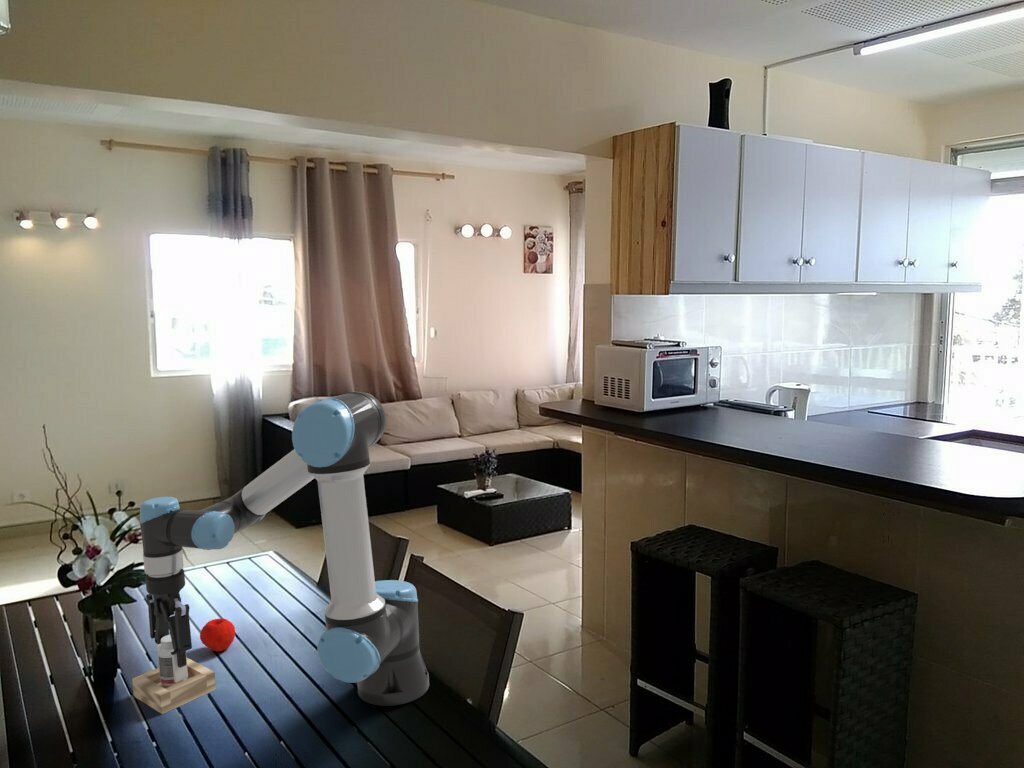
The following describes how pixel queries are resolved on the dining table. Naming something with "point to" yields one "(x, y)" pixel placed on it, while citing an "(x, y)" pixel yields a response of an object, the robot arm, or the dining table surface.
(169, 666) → the pill bottle
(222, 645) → the apple
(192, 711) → the dining table surface
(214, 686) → the maple holder
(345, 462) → the robot arm
